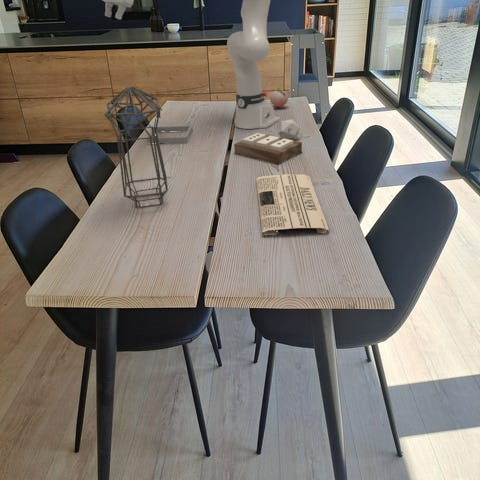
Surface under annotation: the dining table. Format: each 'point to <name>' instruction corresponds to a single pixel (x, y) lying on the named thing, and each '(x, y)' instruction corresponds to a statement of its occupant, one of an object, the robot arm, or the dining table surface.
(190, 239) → the dining table surface
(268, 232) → the newspaper
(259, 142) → the button one
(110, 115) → the geometric lantern
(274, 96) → the decorative fruit
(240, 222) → the dining table surface
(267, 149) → the button panel
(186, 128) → the frame
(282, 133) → the grey rock
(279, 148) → the button two
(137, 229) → the dining table surface
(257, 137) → the button three
